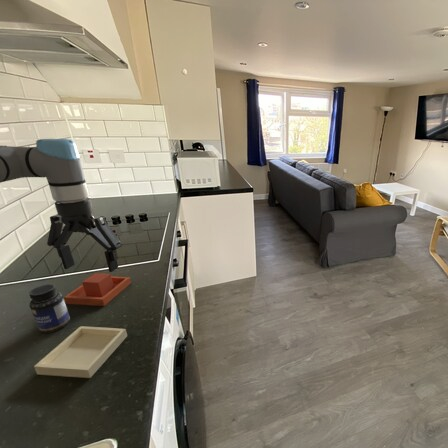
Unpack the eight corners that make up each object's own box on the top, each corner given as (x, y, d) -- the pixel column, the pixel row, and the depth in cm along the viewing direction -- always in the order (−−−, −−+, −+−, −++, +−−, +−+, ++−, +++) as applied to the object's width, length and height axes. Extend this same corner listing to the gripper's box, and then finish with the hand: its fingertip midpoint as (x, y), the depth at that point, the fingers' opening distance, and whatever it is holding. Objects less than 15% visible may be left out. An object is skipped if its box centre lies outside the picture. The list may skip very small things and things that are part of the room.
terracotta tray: (66, 303, 76) (63, 297, 75) (97, 281, 87) (95, 275, 86) (104, 306, 75) (102, 299, 75) (130, 283, 86) (129, 277, 85)
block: (86, 296, 79) (81, 281, 77) (99, 286, 83) (95, 272, 81) (102, 296, 78) (98, 282, 77) (114, 287, 83) (110, 273, 81)
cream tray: (37, 374, 55) (33, 366, 54) (82, 333, 66) (80, 326, 65) (90, 378, 54) (87, 370, 53) (127, 336, 65) (125, 328, 64)
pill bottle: (32, 333, 65) (16, 297, 61) (53, 317, 71) (39, 282, 67) (58, 333, 65) (43, 297, 61) (77, 316, 71) (64, 282, 67)
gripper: (126, 198, 73) (140, 264, 81) (41, 193, 74) (62, 259, 82) (107, 205, 66) (123, 277, 74) (13, 200, 67) (39, 272, 75)
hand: (91, 268), depth 78 cm, fingers open, 13 cm apart
